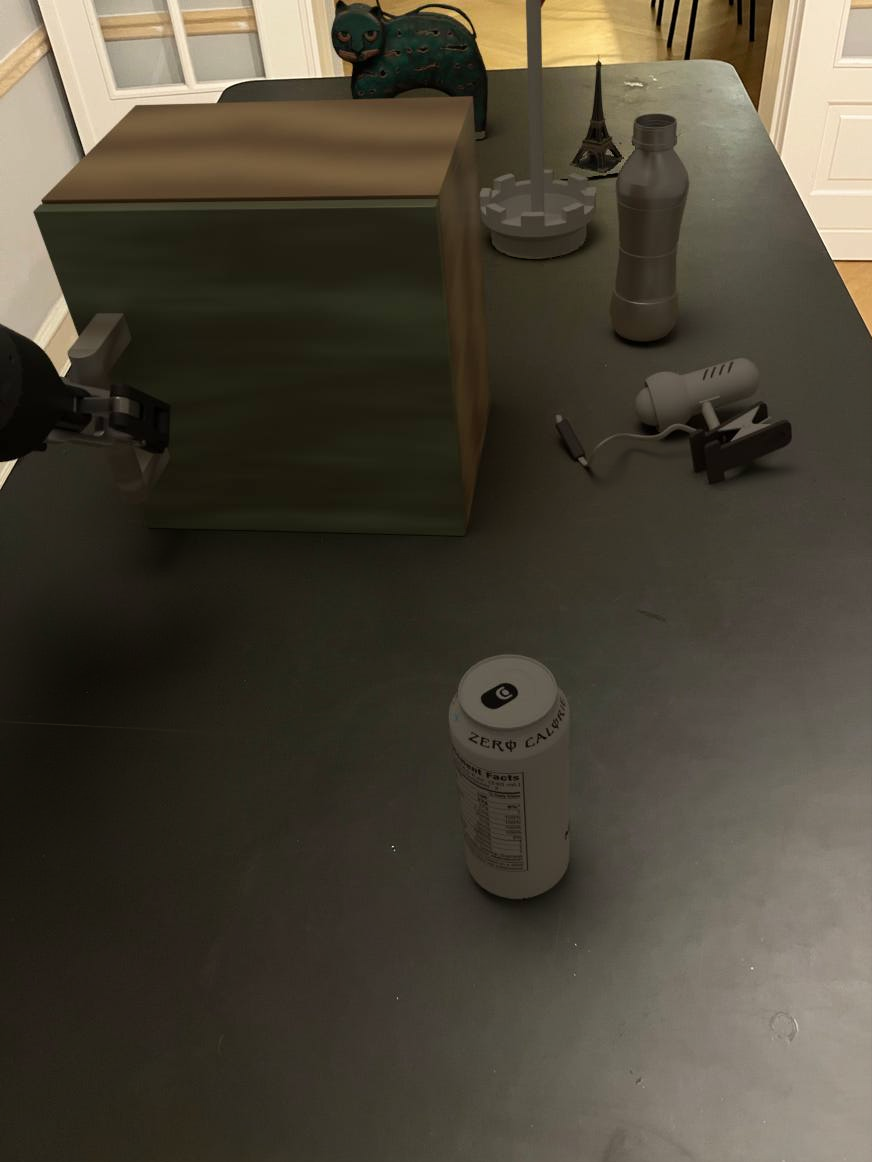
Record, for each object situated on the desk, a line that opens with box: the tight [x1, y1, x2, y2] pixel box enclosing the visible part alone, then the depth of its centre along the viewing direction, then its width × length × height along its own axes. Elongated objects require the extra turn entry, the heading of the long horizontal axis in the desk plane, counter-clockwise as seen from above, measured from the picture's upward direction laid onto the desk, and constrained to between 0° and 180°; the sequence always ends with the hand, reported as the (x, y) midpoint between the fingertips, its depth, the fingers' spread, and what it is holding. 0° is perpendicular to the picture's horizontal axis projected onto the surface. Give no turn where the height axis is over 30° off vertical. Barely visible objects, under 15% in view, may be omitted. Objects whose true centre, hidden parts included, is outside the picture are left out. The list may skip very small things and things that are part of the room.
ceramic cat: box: [330, 0, 489, 132], centre depth 138 cm, size 20×6×20 cm, turn 90°
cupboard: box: [40, 96, 492, 526], centre depth 82 cm, size 18×26×26 cm
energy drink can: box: [448, 654, 571, 900], centre depth 56 cm, size 6×6×15 cm
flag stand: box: [479, 0, 597, 257], centre depth 110 cm, size 13×13×30 cm
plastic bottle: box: [609, 113, 690, 342], centre depth 96 cm, size 6×7×20 cm
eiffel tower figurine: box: [569, 55, 632, 173], centre depth 130 cm, size 15×10×13 cm
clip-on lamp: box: [555, 357, 793, 485], centre depth 87 cm, size 12×6×18 cm
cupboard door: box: [32, 199, 468, 537], centre depth 73 cm, size 7×26×26 cm, turn 84°
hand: (100, 437), depth 71 cm, fingers open, 8 cm apart
